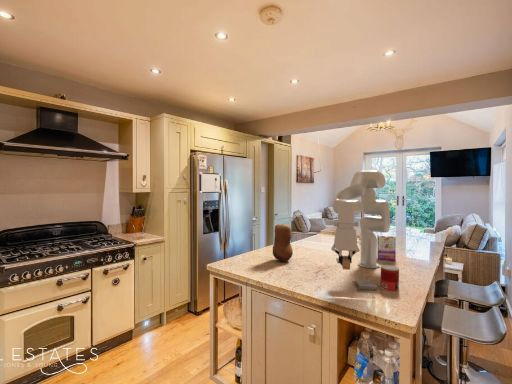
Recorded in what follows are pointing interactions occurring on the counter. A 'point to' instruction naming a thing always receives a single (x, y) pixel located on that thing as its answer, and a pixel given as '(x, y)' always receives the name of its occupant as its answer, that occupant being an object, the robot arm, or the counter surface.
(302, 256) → the counter surface
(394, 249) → the candy bar box
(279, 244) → the butternut squash
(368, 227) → the robot arm
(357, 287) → the board
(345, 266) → the tall wooden pillar
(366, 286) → the tile
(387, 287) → the canned food
